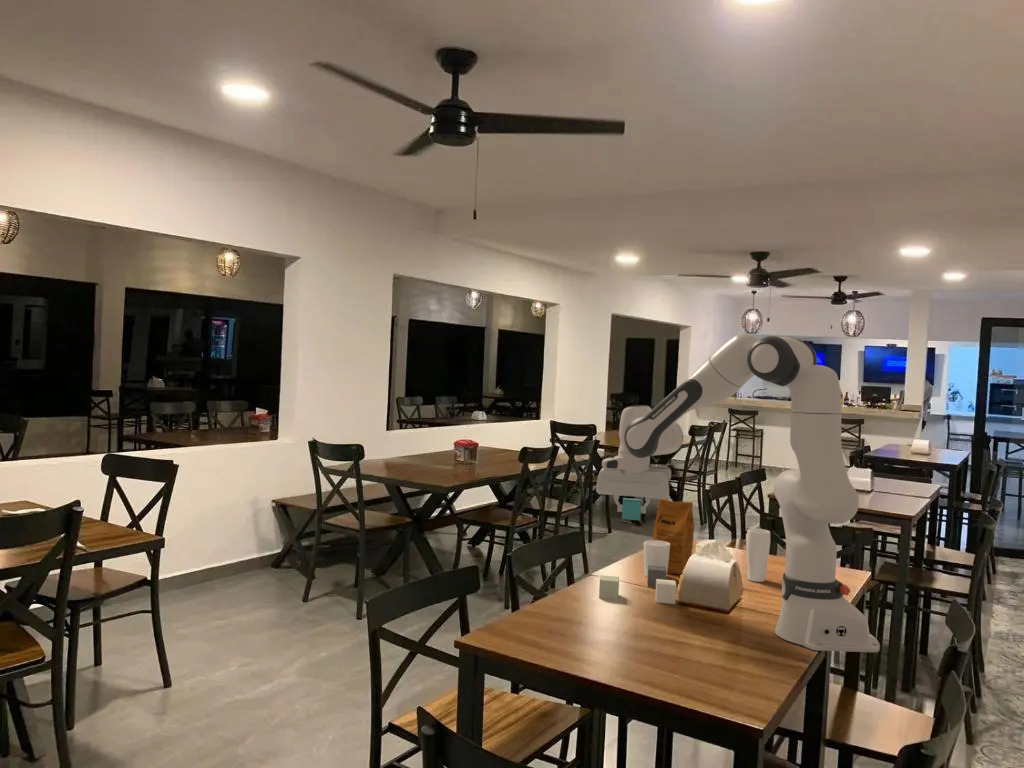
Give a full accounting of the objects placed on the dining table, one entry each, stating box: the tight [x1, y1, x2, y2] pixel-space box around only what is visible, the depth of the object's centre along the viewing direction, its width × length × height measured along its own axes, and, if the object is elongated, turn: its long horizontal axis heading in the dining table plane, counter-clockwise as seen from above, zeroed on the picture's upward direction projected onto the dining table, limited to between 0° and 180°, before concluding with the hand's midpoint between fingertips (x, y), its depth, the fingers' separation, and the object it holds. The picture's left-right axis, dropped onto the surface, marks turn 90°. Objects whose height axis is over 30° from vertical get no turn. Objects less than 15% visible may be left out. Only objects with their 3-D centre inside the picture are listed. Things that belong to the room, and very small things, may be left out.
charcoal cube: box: [646, 565, 667, 588], centre depth 219 cm, size 5×5×5 cm
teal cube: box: [621, 497, 642, 521], centre depth 213 cm, size 5×5×5 cm
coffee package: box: [652, 498, 695, 576], centre depth 237 cm, size 10×12×22 cm
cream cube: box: [655, 579, 677, 605], centre depth 204 cm, size 5×5×5 cm
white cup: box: [643, 539, 670, 578], centre depth 229 cm, size 8×8×10 cm
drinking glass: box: [746, 527, 771, 583], centre depth 229 cm, size 7×7×15 cm
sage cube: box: [598, 574, 620, 601], centre depth 205 cm, size 5×5×5 cm
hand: (631, 512), depth 213 cm, fingers closed on teal cube, 5 cm apart
